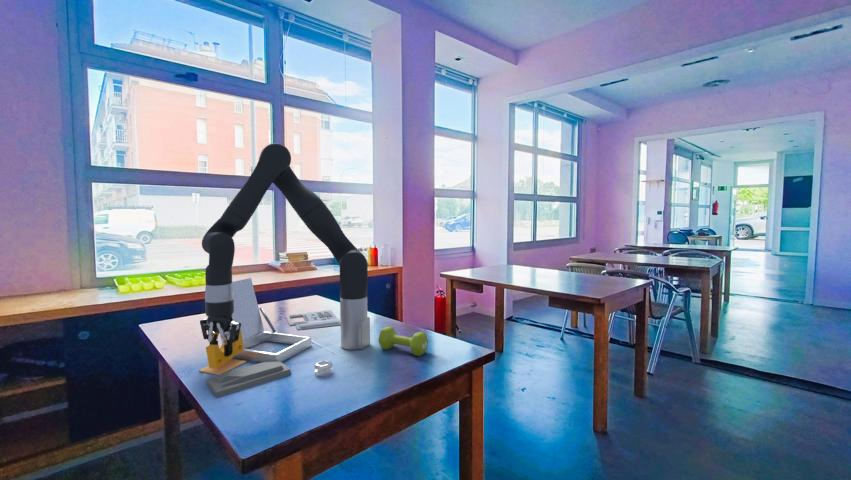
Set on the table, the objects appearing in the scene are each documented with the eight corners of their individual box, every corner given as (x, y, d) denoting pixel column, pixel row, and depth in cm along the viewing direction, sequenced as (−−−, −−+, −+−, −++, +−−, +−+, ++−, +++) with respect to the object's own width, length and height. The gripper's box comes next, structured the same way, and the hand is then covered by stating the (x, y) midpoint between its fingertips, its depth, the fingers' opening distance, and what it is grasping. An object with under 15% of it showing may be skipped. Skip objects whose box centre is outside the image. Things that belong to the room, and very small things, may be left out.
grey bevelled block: (205, 386, 107) (204, 374, 106) (277, 366, 120) (277, 355, 120) (216, 399, 99) (216, 386, 99) (292, 376, 113) (292, 364, 113)
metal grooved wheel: (336, 372, 115) (325, 368, 118) (335, 362, 114) (325, 358, 117) (321, 378, 111) (311, 373, 114) (321, 367, 110) (311, 363, 114)
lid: (251, 277, 143) (248, 278, 144) (210, 286, 127) (207, 287, 127) (264, 331, 143) (261, 331, 144) (224, 347, 127) (221, 347, 127)
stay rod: (277, 334, 143) (276, 308, 142) (275, 335, 142) (275, 309, 141) (261, 332, 145) (260, 306, 145) (259, 333, 145) (258, 307, 144)
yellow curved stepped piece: (231, 348, 126) (228, 329, 124) (243, 349, 125) (240, 330, 123) (204, 367, 114) (200, 347, 113) (217, 368, 113) (213, 348, 112)
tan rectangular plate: (246, 362, 122) (246, 361, 122) (219, 375, 112) (219, 373, 112) (226, 359, 124) (226, 357, 124) (198, 371, 115) (198, 370, 115)
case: (313, 344, 138) (313, 336, 138) (276, 364, 120) (276, 355, 120) (267, 338, 145) (267, 330, 144) (226, 356, 127) (225, 347, 126)
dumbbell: (430, 351, 131) (430, 330, 131) (418, 359, 124) (418, 337, 124) (389, 343, 139) (389, 323, 139) (376, 350, 132) (376, 329, 132)
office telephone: (342, 320, 161) (291, 326, 152) (342, 326, 161) (291, 333, 153) (331, 307, 182) (285, 311, 173) (331, 312, 182) (285, 317, 174)
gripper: (248, 298, 118) (249, 353, 119) (211, 294, 123) (213, 347, 124) (228, 303, 111) (229, 362, 112) (190, 299, 116) (192, 355, 117)
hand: (221, 354), depth 118 cm, fingers closed on yellow curved stepped piece, 4 cm apart
